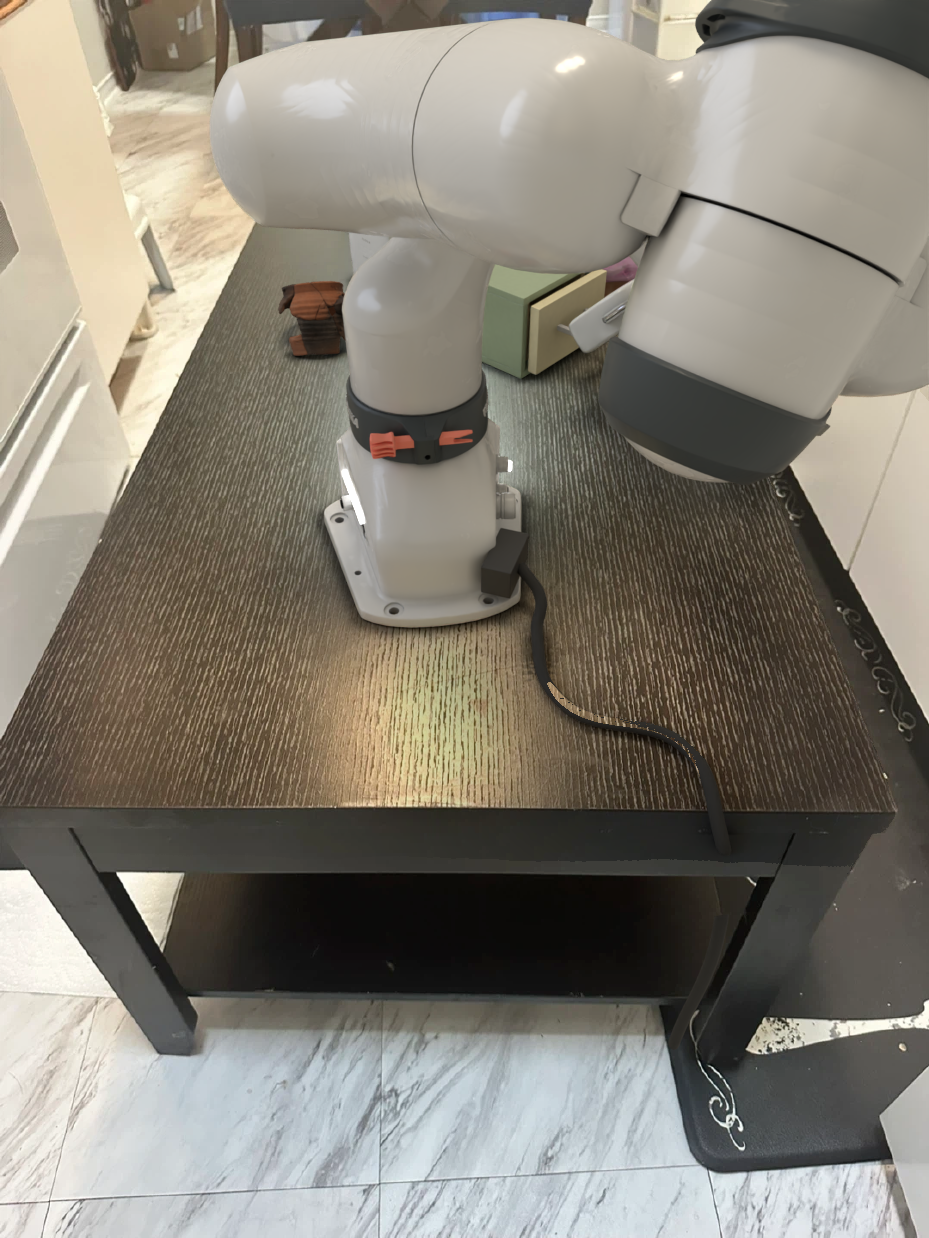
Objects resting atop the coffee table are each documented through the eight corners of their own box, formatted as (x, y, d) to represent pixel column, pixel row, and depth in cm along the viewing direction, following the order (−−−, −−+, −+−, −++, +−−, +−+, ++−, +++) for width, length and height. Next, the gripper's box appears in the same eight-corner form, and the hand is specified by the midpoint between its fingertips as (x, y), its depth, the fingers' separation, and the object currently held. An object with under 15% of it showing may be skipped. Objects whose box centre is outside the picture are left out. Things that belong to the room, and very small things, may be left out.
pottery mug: (268, 360, 106) (258, 287, 104) (311, 358, 114) (302, 291, 112) (355, 350, 101) (347, 273, 99) (393, 350, 109) (386, 279, 107)
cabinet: (591, 334, 108) (598, 257, 101) (520, 379, 101) (523, 298, 94) (488, 294, 116) (489, 219, 109) (416, 333, 109) (412, 255, 102)
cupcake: (564, 298, 115) (570, 220, 108) (625, 288, 117) (635, 210, 110) (592, 330, 109) (600, 249, 102) (656, 319, 111) (668, 238, 104)
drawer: (630, 346, 104) (639, 282, 99) (567, 388, 98) (572, 322, 92) (501, 295, 114) (503, 234, 108) (436, 331, 107) (433, 268, 102)
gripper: (647, 332, 82) (557, 389, 93) (757, 259, 92) (663, 319, 104) (613, 271, 81) (525, 336, 92) (728, 205, 91) (636, 270, 103)
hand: (599, 326), depth 98 cm, fingers closed on drawer, 6 cm apart
